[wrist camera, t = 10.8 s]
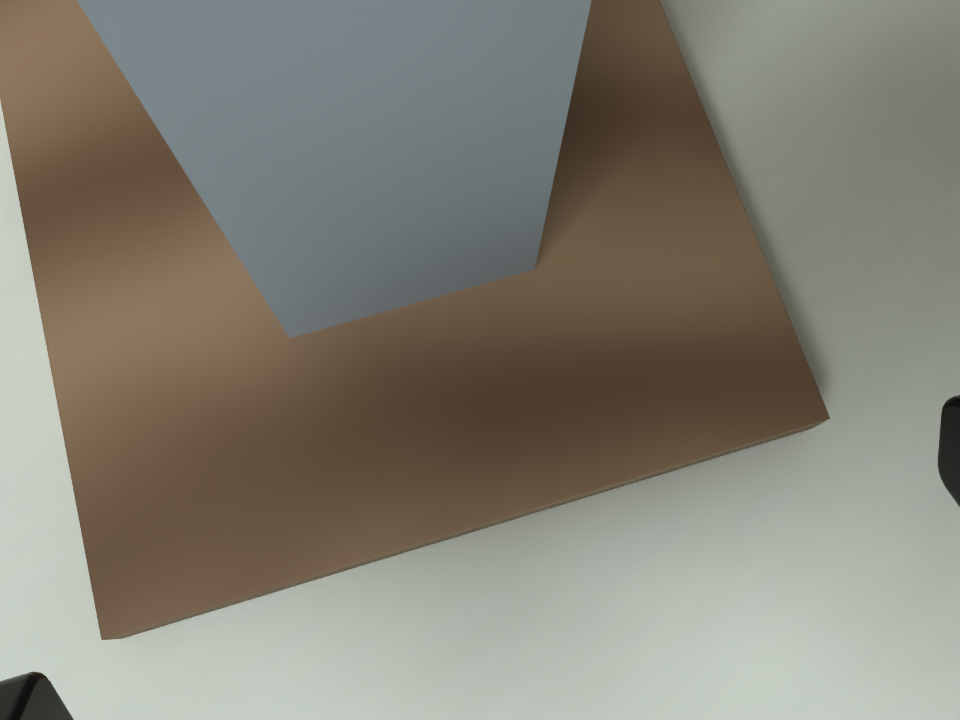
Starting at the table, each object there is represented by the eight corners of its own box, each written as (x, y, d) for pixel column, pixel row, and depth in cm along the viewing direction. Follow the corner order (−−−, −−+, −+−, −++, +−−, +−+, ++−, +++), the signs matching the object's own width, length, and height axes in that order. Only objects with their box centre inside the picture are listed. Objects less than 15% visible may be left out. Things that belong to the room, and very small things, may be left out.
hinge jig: (810, 428, 19) (1274, 182, 8) (121, 638, 17) (-420, 679, 7) (563, -188, 23) (653, -898, 12) (-12, -55, 21) (-485, -720, 11)
